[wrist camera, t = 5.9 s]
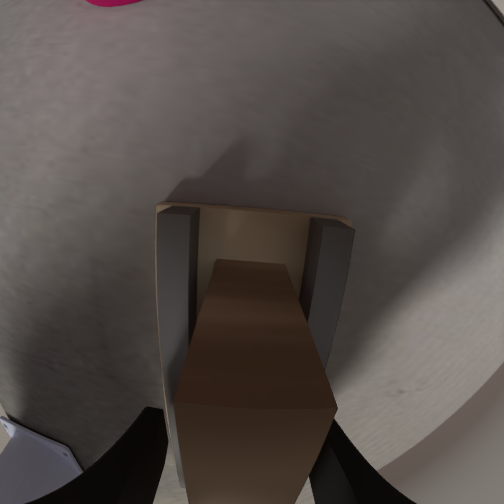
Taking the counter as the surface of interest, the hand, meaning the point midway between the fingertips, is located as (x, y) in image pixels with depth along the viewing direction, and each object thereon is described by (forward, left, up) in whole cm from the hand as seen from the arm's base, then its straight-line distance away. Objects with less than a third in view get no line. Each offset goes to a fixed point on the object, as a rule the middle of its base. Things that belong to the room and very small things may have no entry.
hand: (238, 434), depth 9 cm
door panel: (0, 0, -3) cm, 3 cm away
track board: (0, 0, -4) cm, 4 cm away
